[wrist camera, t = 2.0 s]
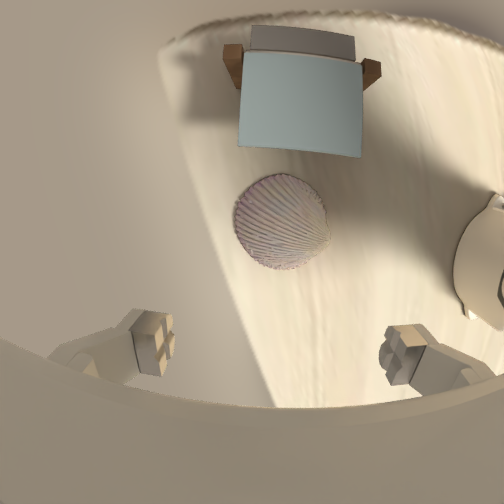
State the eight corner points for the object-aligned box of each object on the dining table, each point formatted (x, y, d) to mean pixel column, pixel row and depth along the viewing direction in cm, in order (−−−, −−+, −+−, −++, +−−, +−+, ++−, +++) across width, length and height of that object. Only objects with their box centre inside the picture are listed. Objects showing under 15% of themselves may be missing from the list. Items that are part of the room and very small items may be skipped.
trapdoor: (346, 55, 20) (360, 35, 16) (344, 160, 23) (360, 157, 19) (251, 45, 21) (246, 22, 16) (244, 150, 24) (237, 145, 19)
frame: (352, 67, 23) (378, 36, 15) (353, 99, 24) (381, 76, 16) (238, 56, 24) (227, 19, 16) (236, 88, 25) (222, 58, 17)
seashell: (320, 291, 28) (226, 273, 26) (304, 269, 33) (224, 252, 31) (355, 197, 25) (256, 165, 22) (332, 189, 30) (248, 162, 28)
